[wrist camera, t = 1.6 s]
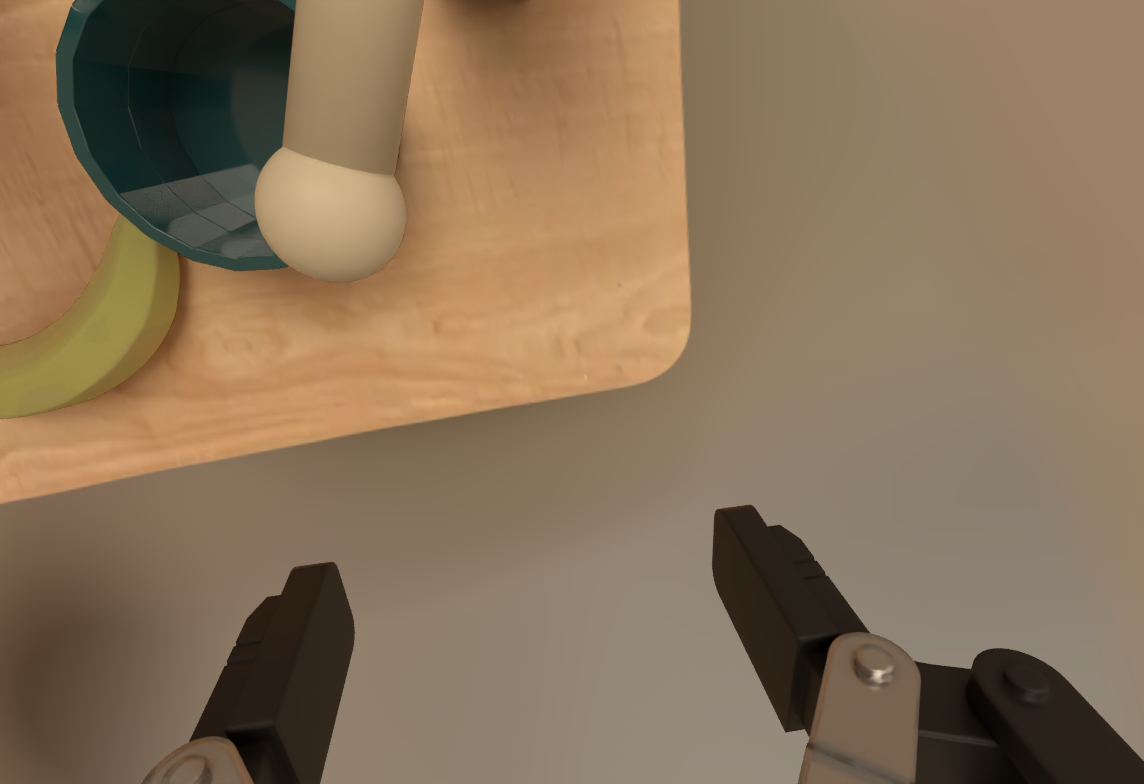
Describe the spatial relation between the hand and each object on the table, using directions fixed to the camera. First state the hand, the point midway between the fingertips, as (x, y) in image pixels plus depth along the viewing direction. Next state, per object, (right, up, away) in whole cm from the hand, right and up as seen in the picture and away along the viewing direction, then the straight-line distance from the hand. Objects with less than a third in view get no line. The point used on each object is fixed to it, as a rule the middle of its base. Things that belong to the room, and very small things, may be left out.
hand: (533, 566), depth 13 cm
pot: (-17, +21, +25) cm, 37 cm away
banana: (-35, +10, +28) cm, 46 cm away
